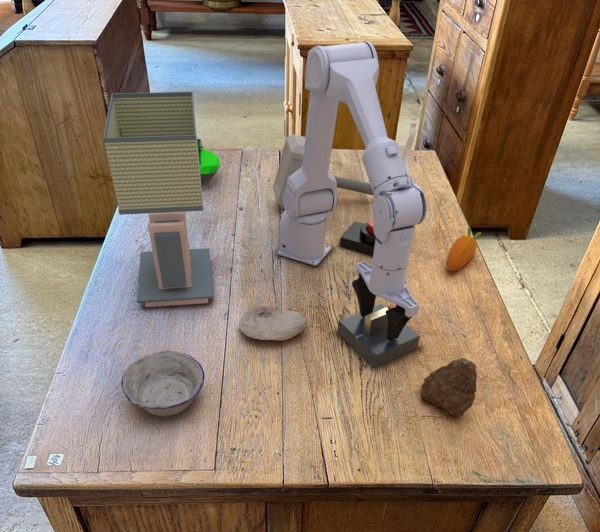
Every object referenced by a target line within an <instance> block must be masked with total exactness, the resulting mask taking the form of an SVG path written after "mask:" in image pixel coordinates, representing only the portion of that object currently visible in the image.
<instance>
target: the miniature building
mask: <svg viewBox="0 0 600 532" xmlns="http://www.w3.org/2000/svg"><path fill="white" fill-rule="evenodd" d="M202 143H203V142H202V140H201V138H197V144H198V154H199V160H200V173H201V185H203V184H205V183H207V182H210V180H212V178H213V177H214V176H215V175H216V174H217V172H218V170H219V168H220V165H221V163H220V157H219V156H218V155H217V154H216V153H215V152H213V151H211V150H209V149H207V148H205V149H204V145H203V144H202Z"/></svg>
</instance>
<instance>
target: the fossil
mask: <svg viewBox="0 0 600 532" xmlns="http://www.w3.org/2000/svg"><path fill="white" fill-rule="evenodd" d="M308 321H309V319H308V317H307V315H304V316H302V314H301V312H299V311H295V310H284V311H282V310H280V309H279V308H277V307H275V306H273V305H259V306H255V307H252V308H251V309H249V310H247V311H245V312H244V314H243V315H242V317H241V318H240V322H239V324H238V329H239V330H240V332H241V333H242V334H243V335H245V336H246V337H248V338H250V339H255V340H261V341H276V342H278V341H287V340H289V339H291V338H294V337H295V336H297V335H299V334H300V333H301V332H302V331H304V330H305V329H306V326H307V325H308V323H309V322H308Z"/></svg>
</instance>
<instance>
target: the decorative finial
mask: <svg viewBox="0 0 600 532" xmlns="http://www.w3.org/2000/svg"><path fill="white" fill-rule="evenodd" d="M417 125H418V116H412V117H411V123H410V125H409V135H408V137H407V140H406V143H405V146H404V149H403V154H402V157H403V160H404V163H405V166H406V169H407V172H408V175H409V176H410V155H411V149H412V146H413V144H414V141H415V138H416V131H417Z"/></svg>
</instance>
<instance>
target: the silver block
mask: <svg viewBox="0 0 600 532" xmlns="http://www.w3.org/2000/svg"><path fill="white" fill-rule="evenodd" d="M393 307H395V305H393V304H389V305H387V306H385V308H383V309H380V310H378V311H376V312H373V313H371V314H368V315H366V316H365V322H364V329H363V331H364V332H365V333H366V334H367V335H368V336H370V335H372V334H374V333H377V332H379V331H381V330H384V329H386V328H388V319H387V315H386V313H385V312H386V310H389V309H391V308H393Z"/></svg>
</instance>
